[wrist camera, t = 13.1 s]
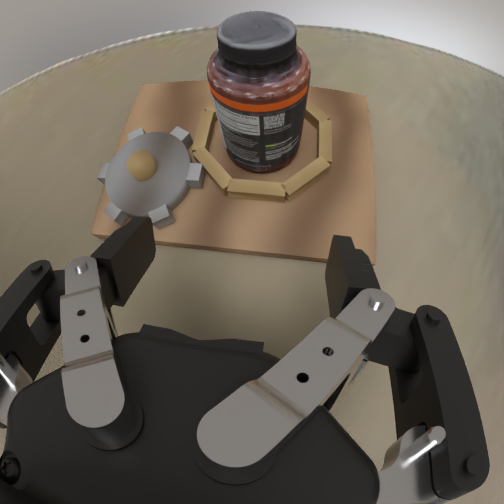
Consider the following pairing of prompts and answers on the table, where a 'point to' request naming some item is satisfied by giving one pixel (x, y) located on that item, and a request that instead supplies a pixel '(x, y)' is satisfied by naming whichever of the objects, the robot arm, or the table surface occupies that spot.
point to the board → (241, 178)
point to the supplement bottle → (259, 89)
